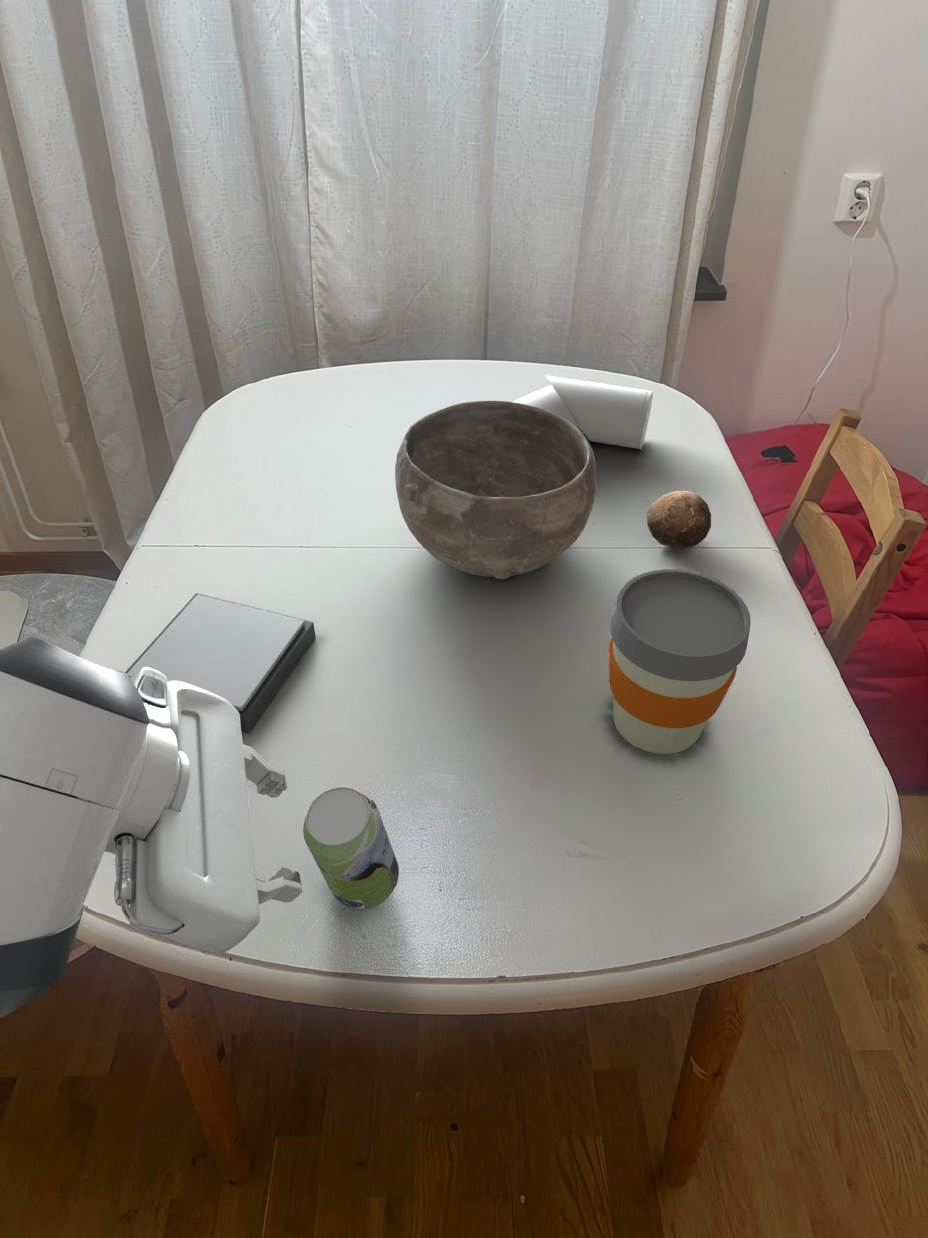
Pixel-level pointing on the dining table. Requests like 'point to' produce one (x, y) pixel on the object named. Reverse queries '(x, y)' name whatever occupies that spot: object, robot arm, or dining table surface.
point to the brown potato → (679, 519)
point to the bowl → (495, 486)
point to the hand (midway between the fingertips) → (288, 834)
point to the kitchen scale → (230, 652)
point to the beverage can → (351, 847)
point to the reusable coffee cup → (673, 656)
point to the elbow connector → (597, 409)
